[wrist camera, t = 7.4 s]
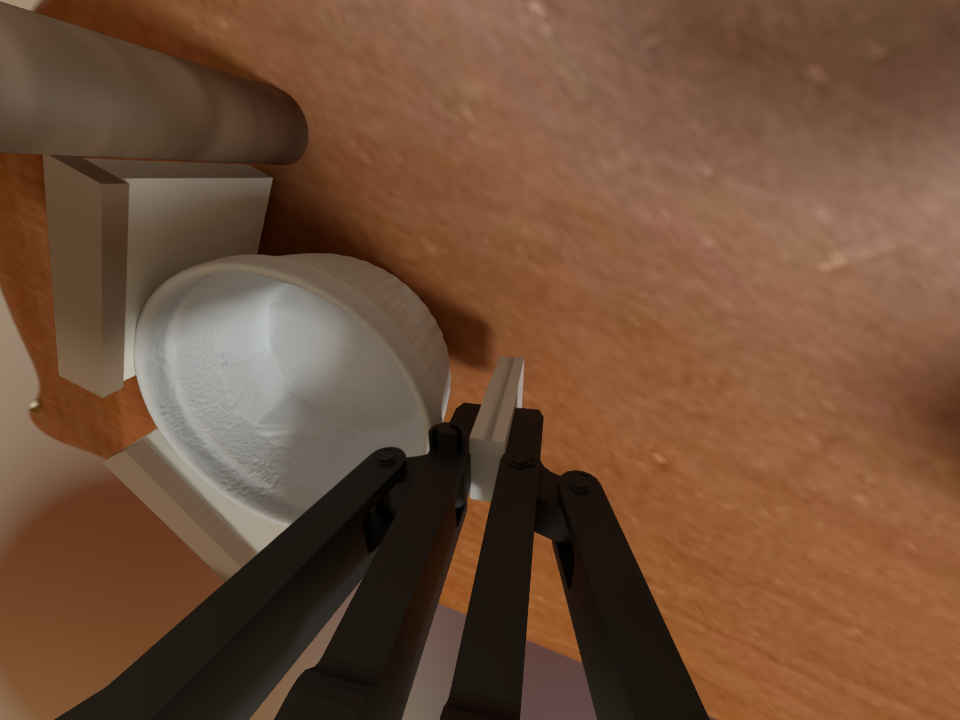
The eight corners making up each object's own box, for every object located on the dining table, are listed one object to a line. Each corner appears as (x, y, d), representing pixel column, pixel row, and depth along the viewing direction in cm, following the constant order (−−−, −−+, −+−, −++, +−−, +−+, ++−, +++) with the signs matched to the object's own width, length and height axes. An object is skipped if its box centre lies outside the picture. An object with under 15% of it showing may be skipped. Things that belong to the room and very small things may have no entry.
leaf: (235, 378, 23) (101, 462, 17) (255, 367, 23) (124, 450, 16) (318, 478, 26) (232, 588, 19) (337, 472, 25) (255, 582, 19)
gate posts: (239, 88, 17) (-200, -33, 7) (300, 86, 16) (-79, -48, 7) (332, 504, 28) (210, 682, 18) (370, 510, 27) (267, 696, 17)
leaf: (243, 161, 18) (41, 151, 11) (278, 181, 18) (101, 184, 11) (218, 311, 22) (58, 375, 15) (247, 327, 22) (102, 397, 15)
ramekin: (521, 359, 20) (505, 440, 14) (384, 480, 26) (329, 575, 20) (319, 172, 18) (193, 170, 12) (218, 350, 24) (97, 411, 17)
